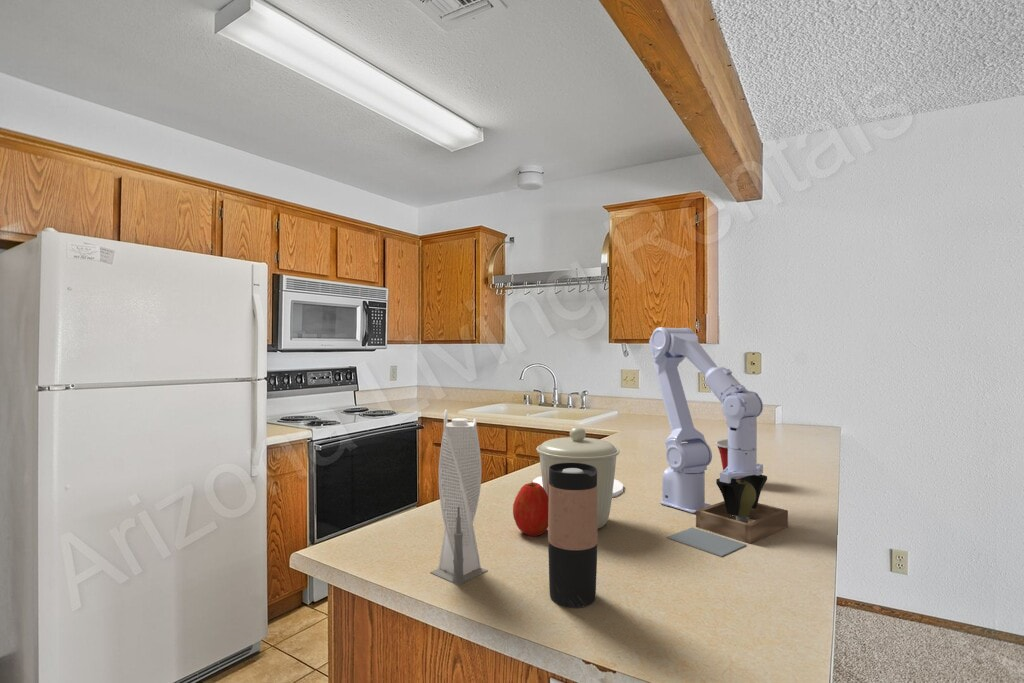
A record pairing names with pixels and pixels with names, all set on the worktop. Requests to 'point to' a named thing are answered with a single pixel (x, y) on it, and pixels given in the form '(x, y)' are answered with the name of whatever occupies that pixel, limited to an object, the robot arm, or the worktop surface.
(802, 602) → the worktop surface
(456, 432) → the skyscraper
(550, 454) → the canister
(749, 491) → the light bulb
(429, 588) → the worktop surface
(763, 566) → the worktop surface
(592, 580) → the travel mug
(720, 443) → the plastic cup
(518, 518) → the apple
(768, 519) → the walnut box
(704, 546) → the pad
